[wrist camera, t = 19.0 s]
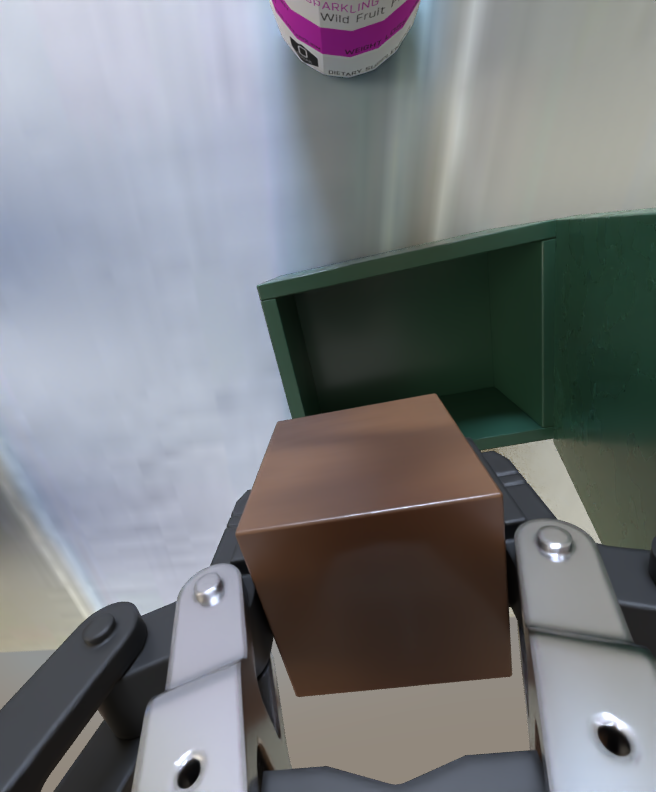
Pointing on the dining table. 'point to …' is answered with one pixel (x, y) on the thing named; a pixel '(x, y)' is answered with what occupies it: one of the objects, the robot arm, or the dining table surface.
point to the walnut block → (379, 550)
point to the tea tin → (427, 332)
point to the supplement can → (344, 32)
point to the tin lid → (608, 369)
